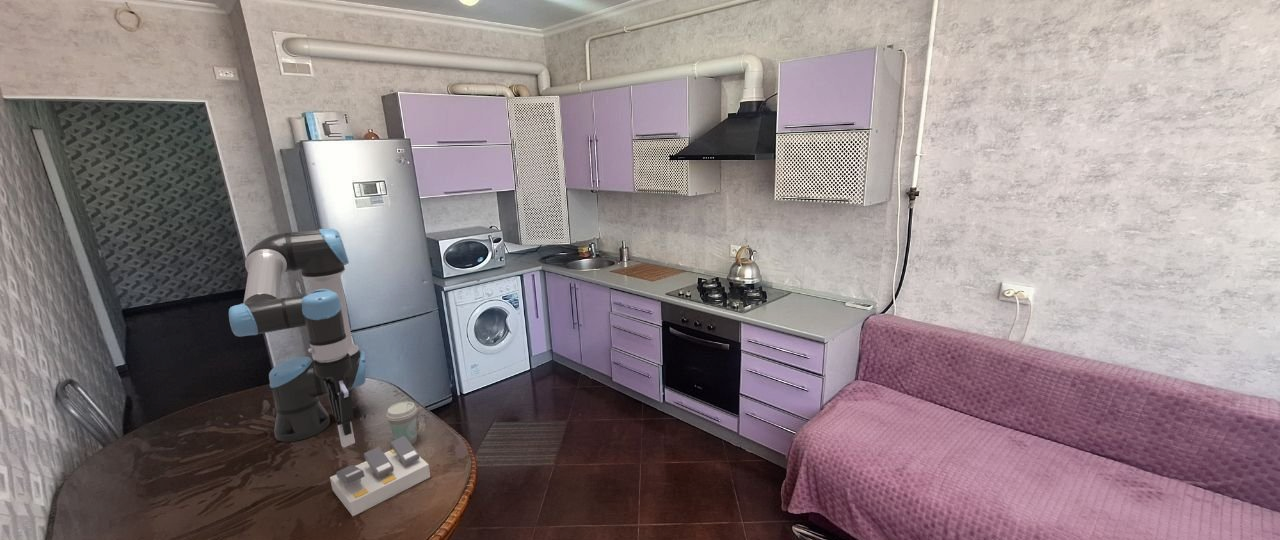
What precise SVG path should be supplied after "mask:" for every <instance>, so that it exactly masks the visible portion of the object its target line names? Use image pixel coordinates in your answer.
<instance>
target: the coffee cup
mask: <svg viewBox="0 0 1280 540" xmlns="http://www.w3.org/2000/svg"><path fill="white" fill-rule="evenodd" d="M417 413H418V408H417V406H416V405H415V403H414V402H412V401H400V402H397V403H394V404H392V405H390V407H388V409H387V412H386V419H387V420H388V423H389V426H390V429H391V432H392V436H393V440H396V439H398V438H400V437H402V436H405V437H406V438H407V439H408V441H409V442H410V443H411V444H412V446H413V445H415V444H416V443H417V440H418V439H417V438H418V436H417V435H418V433H417V429H418V428H417V425H418V424H417Z"/></svg>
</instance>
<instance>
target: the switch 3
mask: <svg viewBox="0 0 1280 540" xmlns="http://www.w3.org/2000/svg"><path fill="white" fill-rule="evenodd" d="M389 442H390V443H389V444H390V447H391V450H392V449H393V450H394V452H395V453H396V454H397V456H398V457H399V458H400V460H401V461H402V462H403V464H404V465H405V466H406V465H408V464H410V463H412V462H414V461H416V460H418V459H419V456H420V454H419V451H417V450H416V448H415V447H414V446H413V445H412V444H411V443H410V442H409V441H408V439H407V438H406V437H405V436H402V437H400V438H398V439H396V440H395V439H393V440H391V441H389Z"/></svg>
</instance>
